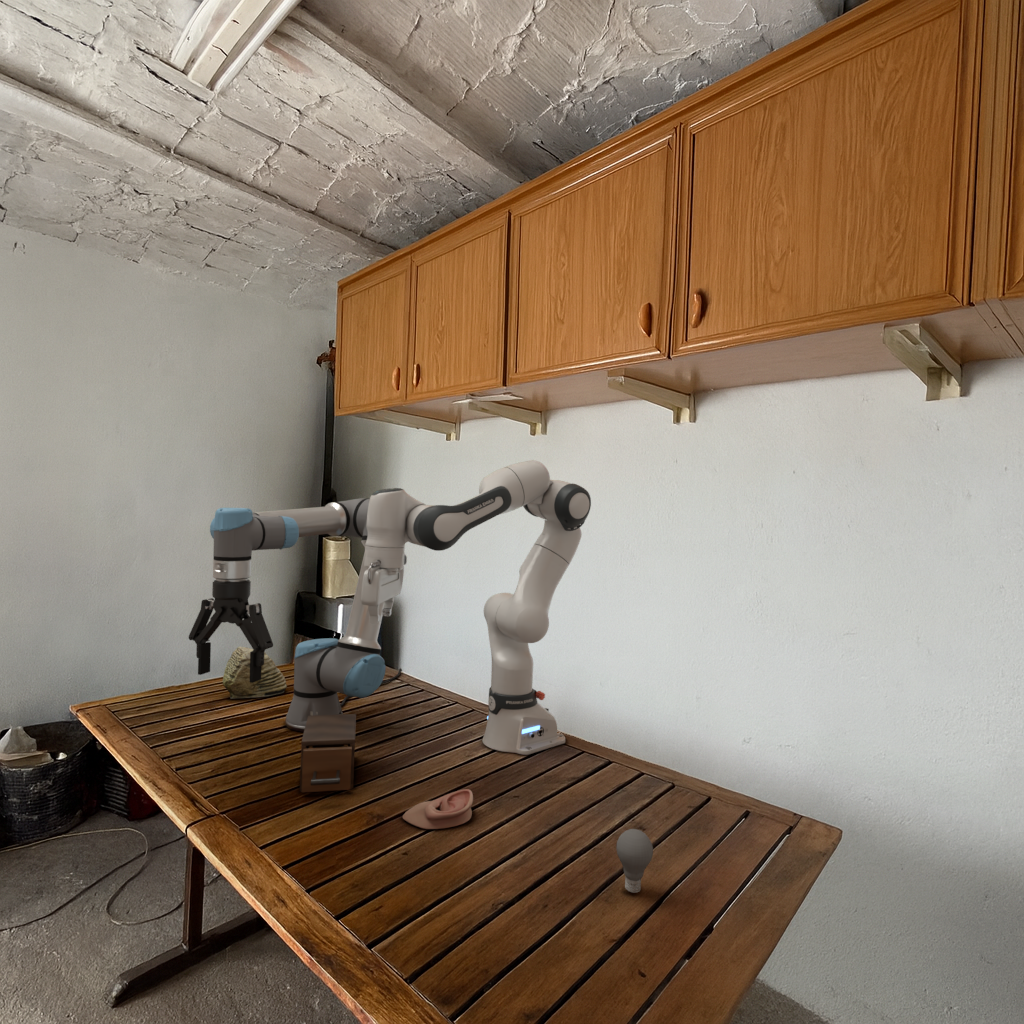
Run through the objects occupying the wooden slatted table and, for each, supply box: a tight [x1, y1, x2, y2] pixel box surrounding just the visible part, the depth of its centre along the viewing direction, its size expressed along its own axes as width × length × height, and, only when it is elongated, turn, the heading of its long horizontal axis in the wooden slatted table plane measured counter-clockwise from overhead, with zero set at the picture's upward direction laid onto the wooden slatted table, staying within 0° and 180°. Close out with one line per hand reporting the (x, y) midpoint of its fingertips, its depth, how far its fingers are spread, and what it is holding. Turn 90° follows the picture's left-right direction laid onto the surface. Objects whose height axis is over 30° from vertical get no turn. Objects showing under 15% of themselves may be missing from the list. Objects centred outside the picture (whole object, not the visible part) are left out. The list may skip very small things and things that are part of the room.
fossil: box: [222, 646, 288, 699], centre depth 198 cm, size 9×18×15 cm, turn 132°
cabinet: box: [299, 713, 357, 793], centre depth 145 cm, size 16×11×11 cm
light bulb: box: [615, 828, 654, 894], centre depth 106 cm, size 6×6×10 cm
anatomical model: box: [402, 788, 474, 830], centre depth 128 cm, size 13×4×12 cm
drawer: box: [301, 744, 352, 793], centre depth 139 cm, size 20×10×9 cm, turn 13°
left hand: (229, 677), depth 137 cm, fingers open, 13 cm apart
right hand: (380, 619), depth 144 cm, fingers open, 8 cm apart
